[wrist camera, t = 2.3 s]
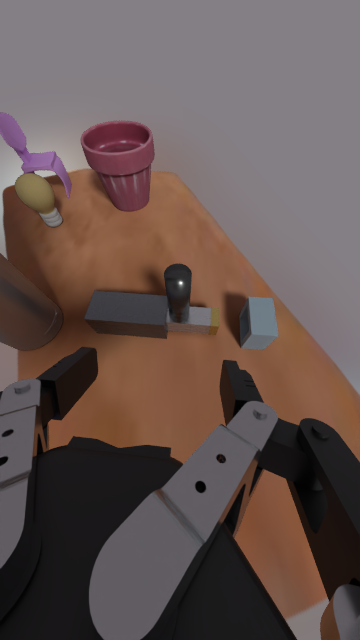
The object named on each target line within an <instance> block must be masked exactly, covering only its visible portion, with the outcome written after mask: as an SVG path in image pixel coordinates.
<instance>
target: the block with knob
mask: <svg viewBox="0 0 360 640" xmlns="http://www.w3.org/2000/svg"><path fill="white" fill-rule="evenodd" d="M191 275H192V273H191V270H190V269H189V268H188V267H187V266H186V265H183V264H173V265H170V266H169V267H167V269H166V270H165V272H164V279H165V286H166V294H167V301H168V306H167V313H166V320H165V326H166V331H177V332H190V333H202V334H209V335H216V333H217V330H218V328H219V308H203V307H190V293H191Z"/></svg>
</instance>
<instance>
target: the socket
mask: <svg viewBox="0 0 360 640" xmlns="http://www.w3.org/2000/svg"><path fill="white" fill-rule="evenodd" d="M239 322H240V342H241V348H247V349H259V350H264V349H265V348H266V347H267V346H268V345H269V344H270V343H272V342H273V341H274V340H275V339H276V338H277V337H278V329H277V322H276V316H275V309H274V302H273V298H259V297H248V299H247V301H246V303H245V305H244V307H243V309H242V310H241V312H240V314H239Z"/></svg>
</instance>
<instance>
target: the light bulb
mask: <svg viewBox="0 0 360 640" xmlns="http://www.w3.org/2000/svg"><path fill="white" fill-rule="evenodd" d="M15 190H16V193H17V195H18V196H19V198H20V199H21V200H22V202H23V203H24V204H26V205H27V206H28V207H30V208H32V209H34V210H36V211H38V212H39V214H40V216H41V217H42V219H43V220H44V221H45V223H46V224H47V225H48V226H51V227H56V226H59V225H60V224H61V223H62V220H63V219H62V217H61V216H60V214H59V212H58V210H57V208H56V207H54V203H55V195H54V191H53V189H52V187H51V185H50V184H49V183H48V182H47V181H46V180H45V179H44V178H42V177H41V176H39V175H36V174H32V173H26V174H23V175H21V176H20V177H18V179H17V180H16V182H15Z"/></svg>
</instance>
